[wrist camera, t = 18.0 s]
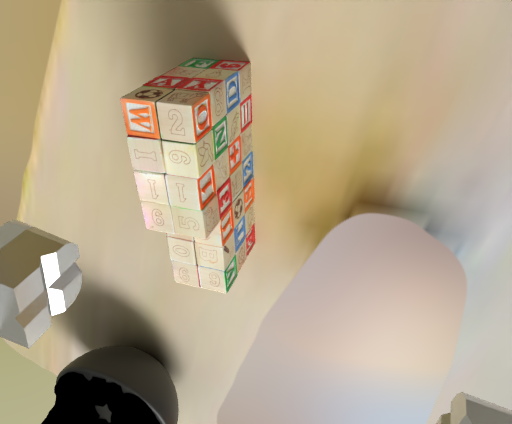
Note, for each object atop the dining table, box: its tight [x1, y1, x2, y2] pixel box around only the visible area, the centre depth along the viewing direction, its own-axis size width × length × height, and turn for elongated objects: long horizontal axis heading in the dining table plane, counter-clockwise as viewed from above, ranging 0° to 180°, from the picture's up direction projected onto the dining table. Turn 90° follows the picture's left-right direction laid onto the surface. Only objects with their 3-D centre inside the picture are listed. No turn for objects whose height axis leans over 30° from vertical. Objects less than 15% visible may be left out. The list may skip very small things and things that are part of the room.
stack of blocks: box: [120, 58, 255, 293], centre depth 44 cm, size 21×6×12 cm, turn 3°
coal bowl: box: [41, 346, 178, 424], centre depth 69 cm, size 20×20×19 cm
